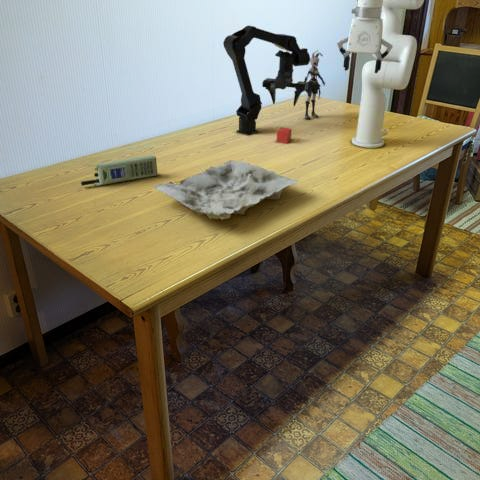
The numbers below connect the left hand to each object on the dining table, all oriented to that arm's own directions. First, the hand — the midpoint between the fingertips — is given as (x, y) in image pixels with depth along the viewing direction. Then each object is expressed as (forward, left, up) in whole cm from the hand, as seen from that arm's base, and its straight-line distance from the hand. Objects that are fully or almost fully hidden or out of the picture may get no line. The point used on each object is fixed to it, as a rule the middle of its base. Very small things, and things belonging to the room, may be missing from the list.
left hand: (284, 104), depth 218 cm
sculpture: (+28, -77, -9) cm, 82 cm away
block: (+11, -17, -9) cm, 23 cm away
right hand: (+45, -27, +24) cm, 58 cm away
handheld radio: (-8, -86, -9) cm, 87 cm away
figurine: (+3, +19, -9) cm, 21 cm away
